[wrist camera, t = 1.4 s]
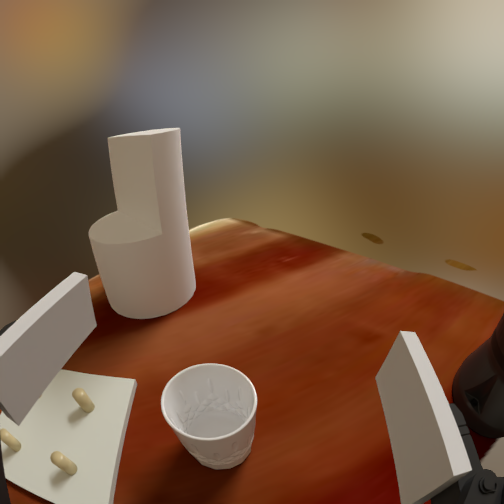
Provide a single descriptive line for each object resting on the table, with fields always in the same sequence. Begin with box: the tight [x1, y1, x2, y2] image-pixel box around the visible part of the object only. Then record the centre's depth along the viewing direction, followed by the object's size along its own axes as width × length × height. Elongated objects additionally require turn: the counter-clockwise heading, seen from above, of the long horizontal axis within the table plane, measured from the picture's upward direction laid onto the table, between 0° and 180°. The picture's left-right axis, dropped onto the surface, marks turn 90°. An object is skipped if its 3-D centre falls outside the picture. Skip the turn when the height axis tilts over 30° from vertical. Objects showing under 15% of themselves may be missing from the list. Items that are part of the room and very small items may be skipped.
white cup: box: [161, 364, 257, 470], centre depth 23 cm, size 8×8×10 cm
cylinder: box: [88, 128, 196, 319], centre depth 45 cm, size 17×17×28 cm
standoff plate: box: [0, 369, 137, 504], centre depth 22 cm, size 20×20×4 cm
